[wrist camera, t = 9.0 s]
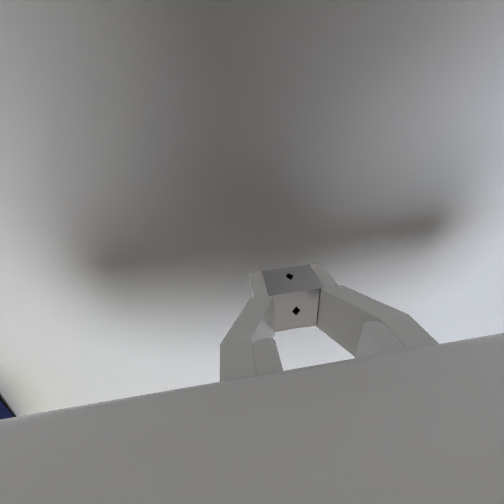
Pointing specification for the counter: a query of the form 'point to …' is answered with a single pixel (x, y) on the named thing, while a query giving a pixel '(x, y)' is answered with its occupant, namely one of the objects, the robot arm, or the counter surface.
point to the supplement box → (4, 412)
